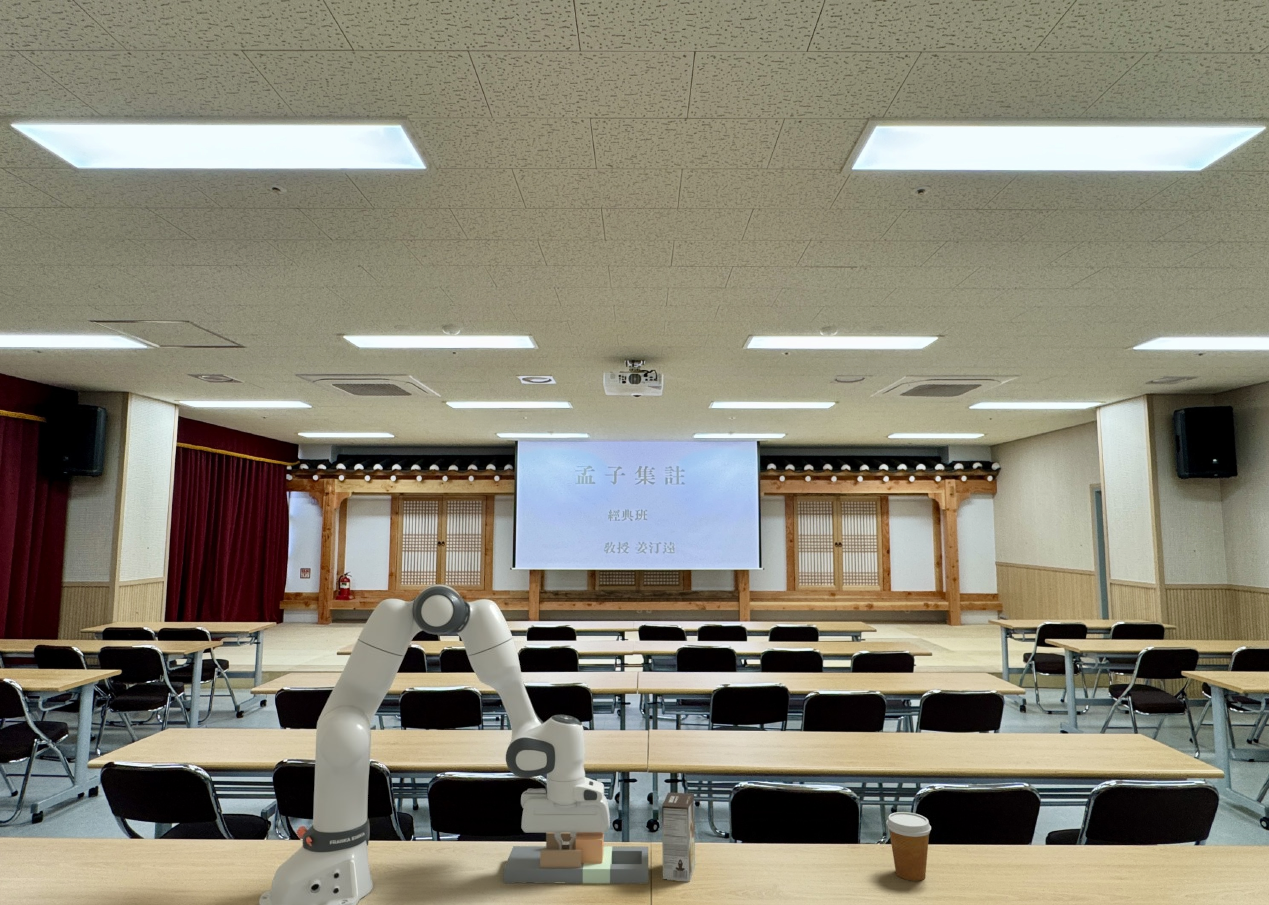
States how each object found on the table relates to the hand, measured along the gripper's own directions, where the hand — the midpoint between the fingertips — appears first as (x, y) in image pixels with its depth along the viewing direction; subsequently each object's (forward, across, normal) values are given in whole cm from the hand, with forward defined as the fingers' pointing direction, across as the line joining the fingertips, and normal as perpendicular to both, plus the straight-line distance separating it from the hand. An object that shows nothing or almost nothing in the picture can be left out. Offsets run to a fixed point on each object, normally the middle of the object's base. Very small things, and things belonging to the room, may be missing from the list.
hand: (565, 851), depth 174 cm
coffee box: (+5, +26, -1) cm, 26 cm away
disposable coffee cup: (+5, +78, -1) cm, 78 cm away
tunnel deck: (+4, +3, 0) cm, 5 cm away
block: (+1, +6, 0) cm, 6 cm away
